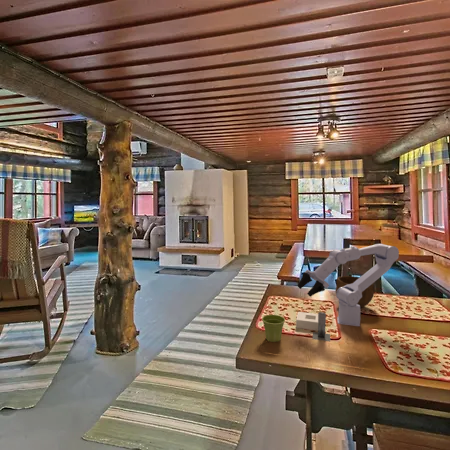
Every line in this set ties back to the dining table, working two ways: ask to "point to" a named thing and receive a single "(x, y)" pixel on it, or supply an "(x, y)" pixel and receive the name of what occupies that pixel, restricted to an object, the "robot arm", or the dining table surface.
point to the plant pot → (273, 327)
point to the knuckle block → (307, 321)
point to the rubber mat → (327, 338)
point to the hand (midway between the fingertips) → (303, 291)
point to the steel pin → (321, 324)
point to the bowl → (366, 294)
